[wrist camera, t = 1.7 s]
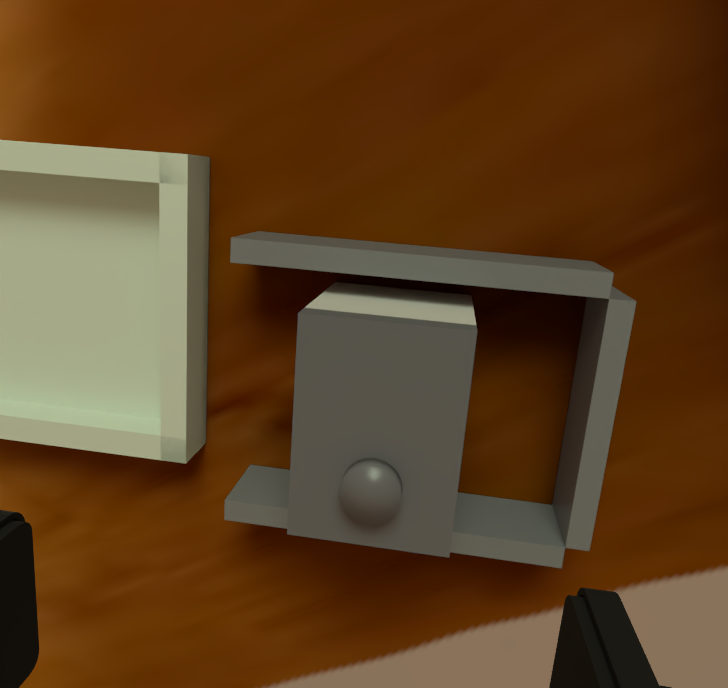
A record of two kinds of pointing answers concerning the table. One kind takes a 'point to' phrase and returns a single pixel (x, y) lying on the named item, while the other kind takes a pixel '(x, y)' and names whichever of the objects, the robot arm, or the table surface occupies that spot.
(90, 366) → the dock tray
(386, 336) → the grey box with knob
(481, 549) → the bay
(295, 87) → the table surface
